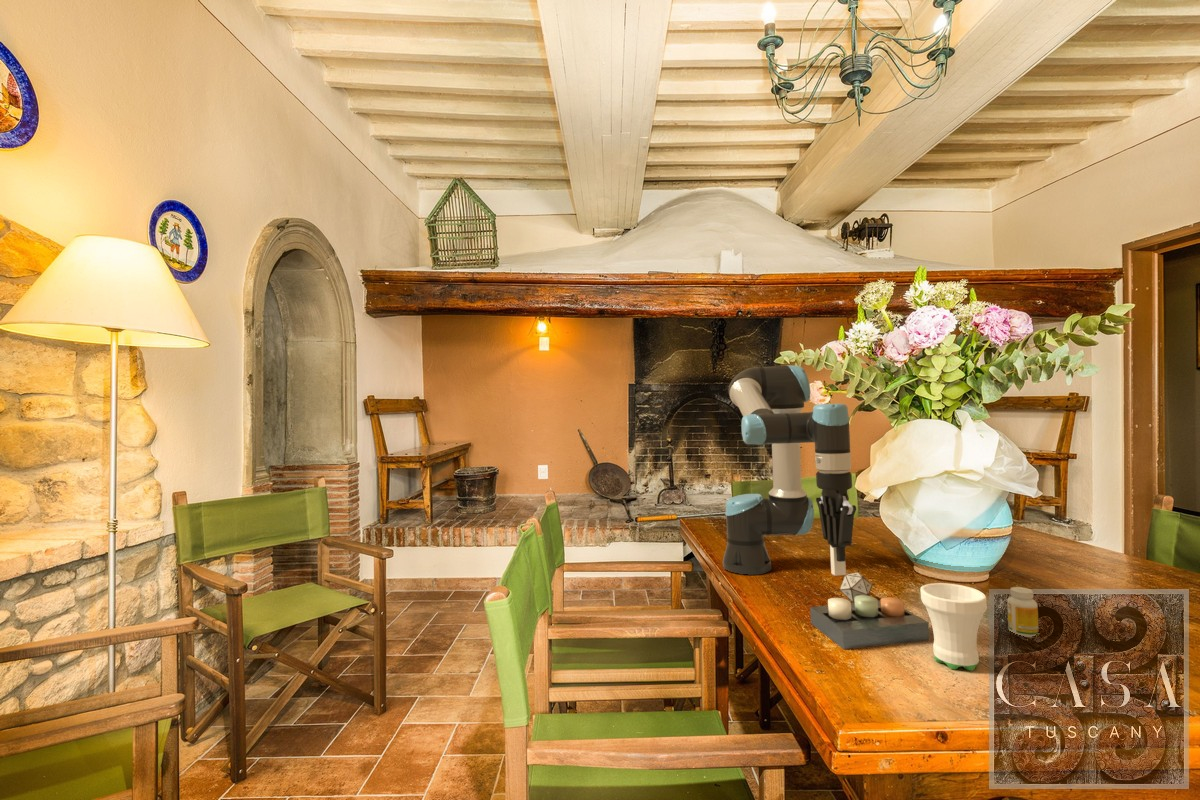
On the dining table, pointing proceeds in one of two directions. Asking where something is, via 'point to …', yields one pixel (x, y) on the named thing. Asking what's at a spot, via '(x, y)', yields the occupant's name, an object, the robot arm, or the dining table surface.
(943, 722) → the dining table surface
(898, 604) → the terracotta button
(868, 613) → the sage button
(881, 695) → the dining table surface
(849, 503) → the robot arm
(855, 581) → the game die
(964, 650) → the cup
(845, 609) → the ivory button
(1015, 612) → the supplement bottle
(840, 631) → the panel
